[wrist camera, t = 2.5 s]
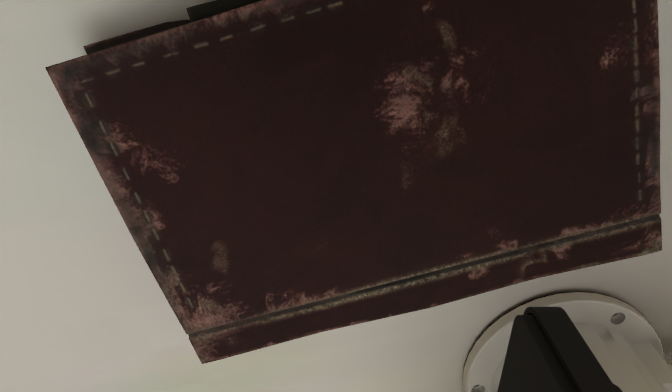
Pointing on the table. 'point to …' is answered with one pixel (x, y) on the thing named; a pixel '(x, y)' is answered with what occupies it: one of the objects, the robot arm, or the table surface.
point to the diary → (371, 153)
